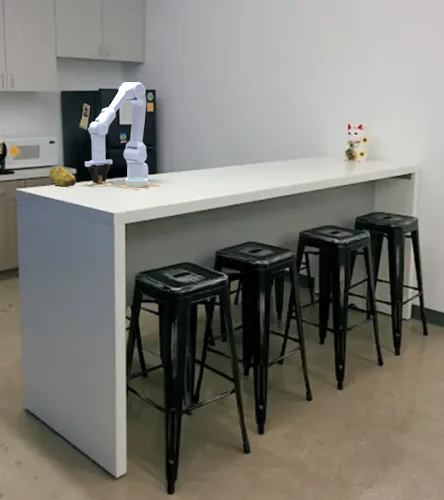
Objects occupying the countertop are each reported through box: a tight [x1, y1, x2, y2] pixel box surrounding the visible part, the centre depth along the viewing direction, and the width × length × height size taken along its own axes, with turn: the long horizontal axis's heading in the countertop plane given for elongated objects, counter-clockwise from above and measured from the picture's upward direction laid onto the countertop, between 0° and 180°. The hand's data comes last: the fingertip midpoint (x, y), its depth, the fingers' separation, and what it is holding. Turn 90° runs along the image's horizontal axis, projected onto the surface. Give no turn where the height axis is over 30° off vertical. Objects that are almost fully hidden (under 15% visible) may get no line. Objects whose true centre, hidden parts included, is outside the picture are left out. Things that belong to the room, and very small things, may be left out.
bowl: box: [124, 177, 149, 188], centre depth 267 cm, size 10×10×3 cm
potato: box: [49, 166, 77, 187], centre depth 269 cm, size 8×13×8 cm, turn 37°
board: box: [111, 183, 160, 191], centre depth 268 cm, size 16×14×1 cm
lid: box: [86, 174, 113, 187], centre depth 271 cm, size 10×10×4 cm
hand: (99, 182), depth 271 cm, fingers open, 4 cm apart
